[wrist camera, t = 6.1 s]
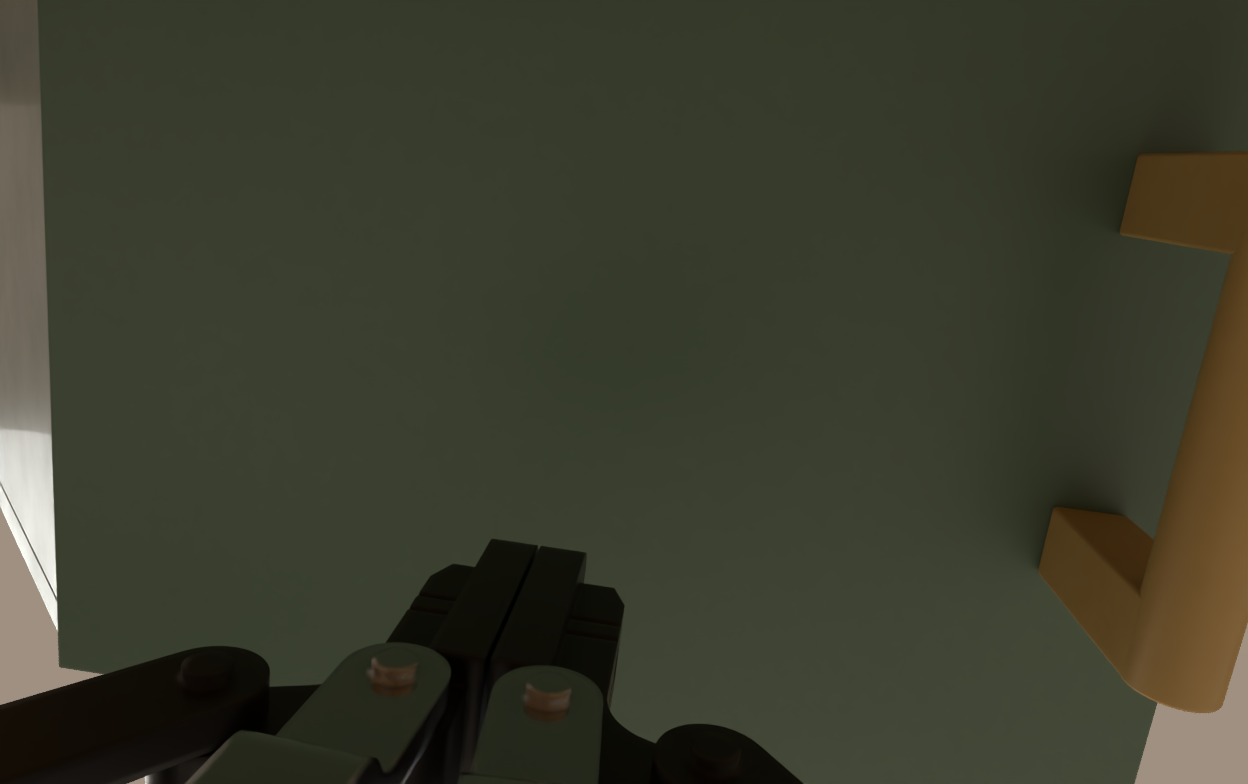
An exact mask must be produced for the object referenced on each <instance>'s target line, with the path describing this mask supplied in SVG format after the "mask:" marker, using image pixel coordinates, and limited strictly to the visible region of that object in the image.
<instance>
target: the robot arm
mask: <svg viewBox="0 0 1248 784" xmlns="http://www.w3.org/2000/svg"><path fill="white" fill-rule="evenodd" d="M586 560H587V553H586V552H580V551H574V550H567V549H560V548H554V547H547V546H540V548H539V549H538V545H533V544H526V543H520V542H513V541H506V540H500V539H493V538H492V539H491V540H490V542H489V544H488V545H487V547H486V549H485V551H484V552H483V554H482V556H481V557H480V559H479V561H478V563H477V564H476V566H475V567H473V566H466V565H460V564H451V565H449V566H448V567H446V568H444V569H442V570H440V571H438V572H437V573H435V574H433V575H431V576H430V577H429V579H428V580H427V582H426V583H425V585H424V586H423V588H422V589H421V590H420V592H419V596H416V598H415V599H414V601H413V602H412V604H411V605H410V609H408V610H407V611H406V613H405V614H404V616H403V617H402V619H401V620H400V622H399V623H398V625H397V626H396V628H395V629H394V631H393V632H392V634H391V635H390V637H389V638H388V640H387V641H386V643H381V644H375V645H371V646H367V647H364V648H361V649H359V650H357V651H355V652H353V653H351V654H350V655H348V656H347V657H346V658H345V659H344V660H343V661H342V662H341V663H340V664H339V665H338V666H337V667H336V669H335V670H334V671H333V672H332V673H331V674H330V675H329V676H328V677H327V679H326V680H325V681H324V682H323V683H322V684H317V685H302V686H273V687H270V668H269V665H268V663H267V662H266V661H265V659H264V658H262V657H261V656H260V655H258V654H256V653H254V652H252V651H250V650H246V649H243V648H238V647H231V646H207V647H199V648H193V649H189V650H185V651H181V652H178V653H175V654H171V655H168V656H164V657H161V658H158V659H154V660H151V661H148V662H144V663H141V664H137V665H134V666H131V667H127V668H124V669H121V670H117V671H114V672H110V673H107V674H104V675H101V676H97V677H94V678H90V679H87V680H83V681H80V682H77V683H73V684H70V685H67V686H63V687H60V688H57V689H53V690H50V691H46V692H43V693H40V694H36V695H33V696H30V697H26V698H23V699H20V700H16V701H13V702H9V703H6V704H2V705H0V784H127V783H129V782H132V781H135V780H137V779H140V778H143V777H145V784H803V783H802V782H801V781H800V780H799V779H798V778H797V777H795V776H794V775H793V774H792V773H791V772H790V771H789V770H787V769H786V768H785V767H784V766H783V765H782V764H781V763H779V762H778V761H777V760H776V759H775V758H774V757H773V756H771V755H770V754H769V753H768V752H767V751H766V750H765V749H763V748H762V747H761V746H760V745H759V744H757V743H756V742H755V741H754V740H752V739H751V738H749V737H747V736H745V735H744V734H742V733H739V732H737V731H735V730H732V729H729V728H726V727H722V726H718V725H711V724H686V725H682V726H678V727H675V728H672V729H670V730H668V731H667V732H665V733H664V734H663V735H662V736H661V737H660V738H659V739H658V741H657V742H656V743H654V742H651V741H648V740H646V739H644V738H642V737H639V736H637V735H635V734H634V733H632V732H630V731H629V730H627V729H626V728H625V727H623V726H622V725H621V724H620V723H619V722H618V721H617V720H616V719H615V718H614V716H613V715H612V714H611V712H610V707H611V702H612V696H613V690H614V683H615V675H616V668H617V660H618V653H619V645H620V638H621V630H622V623H623V615H624V608H625V605H624V603H623V602H622V600H621V598H620V597H619V595H618V593H617V591H616V590H615V588H612V587H605V586H599V585H592V584H585V583H584V579H585V571H586Z"/></svg>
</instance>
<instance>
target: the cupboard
mask: <svg viewBox="0 0 1248 784" xmlns="http://www.w3.org/2000/svg"><path fill="white" fill-rule="evenodd" d="M0 507H1V509H2V512H3V514H4V516H5V518H6V520H7V522H8V524H9V527H10V529H11V531H12V533H13V535H14V537H15V540H16V542H17V544H18V546H19V549H20V550H21V553H22V555H23V557H24V559H25V561H26V564H27V566H28V568H29V570H30V572H31V574H32V577H33V579H34V581H35V583H36V585H37V587H38V590H39V592H40V594H41V596H42V599H43V601H44V603H45V605H46V607H47V609H48V611H49V614H50V616H51V618H52V620H53V623H54V625H55V627H56V629H57V631H58V620H57V590H56V560H55V530H54V500H53V469H52V439H51V409H50V379H49V349H48V319H47V289H46V259H45V228H44V198H43V168H42V138H41V108H40V78H39V48H38V18H37V0H0Z"/></svg>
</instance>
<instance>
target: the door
mask: <svg viewBox="0 0 1248 784" xmlns="http://www.w3.org/2000/svg"><path fill="white" fill-rule="evenodd" d="M37 18H38V48H39V78H40V108H41V138H42V168H43V198H44V228H45V259H46V289H47V319H48V349H49V379H50V409H51V439H52V469H53V500H54V530H55V560H56V590H57V620H58V650H59V667H61V668H67V669H74V670H80V671H87V672H93V673H99V674H107V673H110V672H114V671H117V670H121V669H124V668H127V667H131V666H134V665H137V664H141V663H144V662H148V661H151V660H154V659H158V658H161V657H164V656H168V655H171V654H175V653H178V652H181V651H185V650H189V649H193V648H199V647H207V646H231V647H238V648H243V649H246V650H250V651H252V652H254V653H256V654H258V655H260V656H261V657H262V658H264V659H265V661H266V662H267V663H268V665H269V668H270V687H273V686H302V685H317V684H322V683H323V682H324V681H325V680H326V679H327V677H328V676H329V675H330V674H331V673H332V672H333V671H334V670H335V669H336V667H337V666H338V665H339V664H340V663H341V662H342V661H343V660H344V659H345V658H346V657H347V656H348V655H350V654H351V653H353V652H355V651H357V650H359V649H361V648H364V647H367V646H371V645H375V644H381V643H386V641H387V640H388V638H389V637H390V635H391V634H392V632H393V631H394V629H395V628H396V626H397V625H398V623H399V622H400V620H401V619H402V617H403V616H404V614H405V613H406V611H407V610H408V609H410V605H411V604H412V602H413V601H414V599H415V598H416V596H419V592H420V590H421V589H422V588H423V586H424V585H425V583H426V582H427V580H428V579H429V577H430V576H431V575H433V574H435V573H437V572H438V571H440V570H442V569H444V568H446V567H448V566H449V565H451V564H460V565H466V566H473V567H475V566H476V564H477V563H478V561H479V559H480V557H481V556H482V554H483V552H484V551H485V549H486V547H487V545H488V544H489V542H490V540H491V539H492V538H493V539H500V540H506V541H513V542H520V543H526V544H533V545H538V549H539V548H540V546H547V547H554V548H560V549H567V550H574V551H580V552H586V553H587V560H586V571H585V579H584V583H585V584H592V585H599V586H605V587H612V588H615V590H616V591H617V593H618V595H619V597H620V598H621V600H622V602H623V603H624V605H625V608H624V615H623V623H622V630H621V638H620V645H619V653H618V660H617V668H616V675H615V683H614V690H613V696H612V702H611V707H610V712H611V714H612V715H613V716H614V718H615V719H616V720H617V721H618V722H619V723H620V724H621V725H622V726H623V727H625V728H626V729H627V730H629V731H630V732H632V733H634V734H635V735H637V736H639V737H642V738H644V739H646V740H648V741H651V742H654V743H656V742H657V741H658V739H659V738H660V737H661V736H662V735H663V734H664V733H665V732H667V731H668V730H670V729H672V728H675V727H678V726H682V725H686V724H711V725H718V726H722V727H726V728H729V729H732V730H735V731H737V732H739V733H742V734H744V735H745V736H747V737H749V738H751V739H752V740H754V741H755V742H756V743H757V744H759V745H760V746H761V747H762V748H763V749H765V750H766V751H767V752H768V753H769V754H770V755H771V756H773V757H774V758H775V759H776V760H777V761H778V762H779V763H781V764H782V765H783V766H784V767H785V768H786V769H787V770H789V771H790V772H791V773H792V774H793V775H794V776H795V777H797V778H798V779H799V780H800V781H801V782H802V783H803V784H1134V783H1135V779H1136V775H1137V772H1138V769H1139V765H1140V761H1141V758H1142V755H1143V751H1144V748H1145V744H1146V740H1147V737H1148V734H1149V730H1150V727H1151V723H1152V720H1153V716H1154V713H1155V709H1156V706H1157V702H1158V703H1160V704H1163V705H1165V706H1168V707H1172V708H1175V709H1178V710H1182V711H1187V712H1194V713H1211V712H1215V711H1217V710H1219V709H1220V708H1221V707H1222V705H1223V702H1224V699H1225V695H1226V692H1227V689H1228V685H1229V682H1230V679H1231V675H1232V672H1233V669H1234V666H1235V662H1236V659H1237V656H1238V653H1239V649H1240V646H1241V643H1242V639H1243V636H1244V633H1245V629H1246V626H1247V623H1248V0H37Z"/></svg>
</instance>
